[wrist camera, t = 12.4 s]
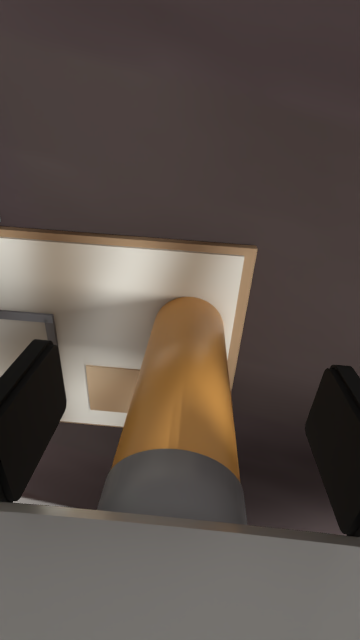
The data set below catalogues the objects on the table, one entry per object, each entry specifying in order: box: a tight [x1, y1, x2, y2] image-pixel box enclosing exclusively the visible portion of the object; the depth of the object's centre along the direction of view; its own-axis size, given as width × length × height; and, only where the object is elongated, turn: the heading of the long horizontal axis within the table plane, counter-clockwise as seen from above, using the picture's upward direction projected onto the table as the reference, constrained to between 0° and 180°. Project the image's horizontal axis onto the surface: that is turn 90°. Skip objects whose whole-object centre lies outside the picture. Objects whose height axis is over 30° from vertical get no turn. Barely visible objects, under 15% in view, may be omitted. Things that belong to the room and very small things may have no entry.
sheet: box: [0, 226, 257, 427], centre depth 16 cm, size 19×11×1 cm, turn 87°
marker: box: [97, 297, 247, 525], centre depth 10 cm, size 3×3×10 cm
